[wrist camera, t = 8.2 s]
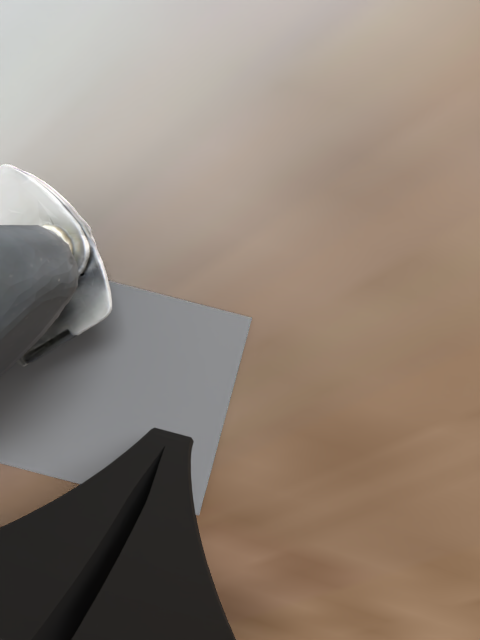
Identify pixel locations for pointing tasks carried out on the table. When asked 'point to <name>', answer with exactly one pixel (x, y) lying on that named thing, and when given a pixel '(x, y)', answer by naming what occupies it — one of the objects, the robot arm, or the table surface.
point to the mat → (125, 388)
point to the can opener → (44, 270)
